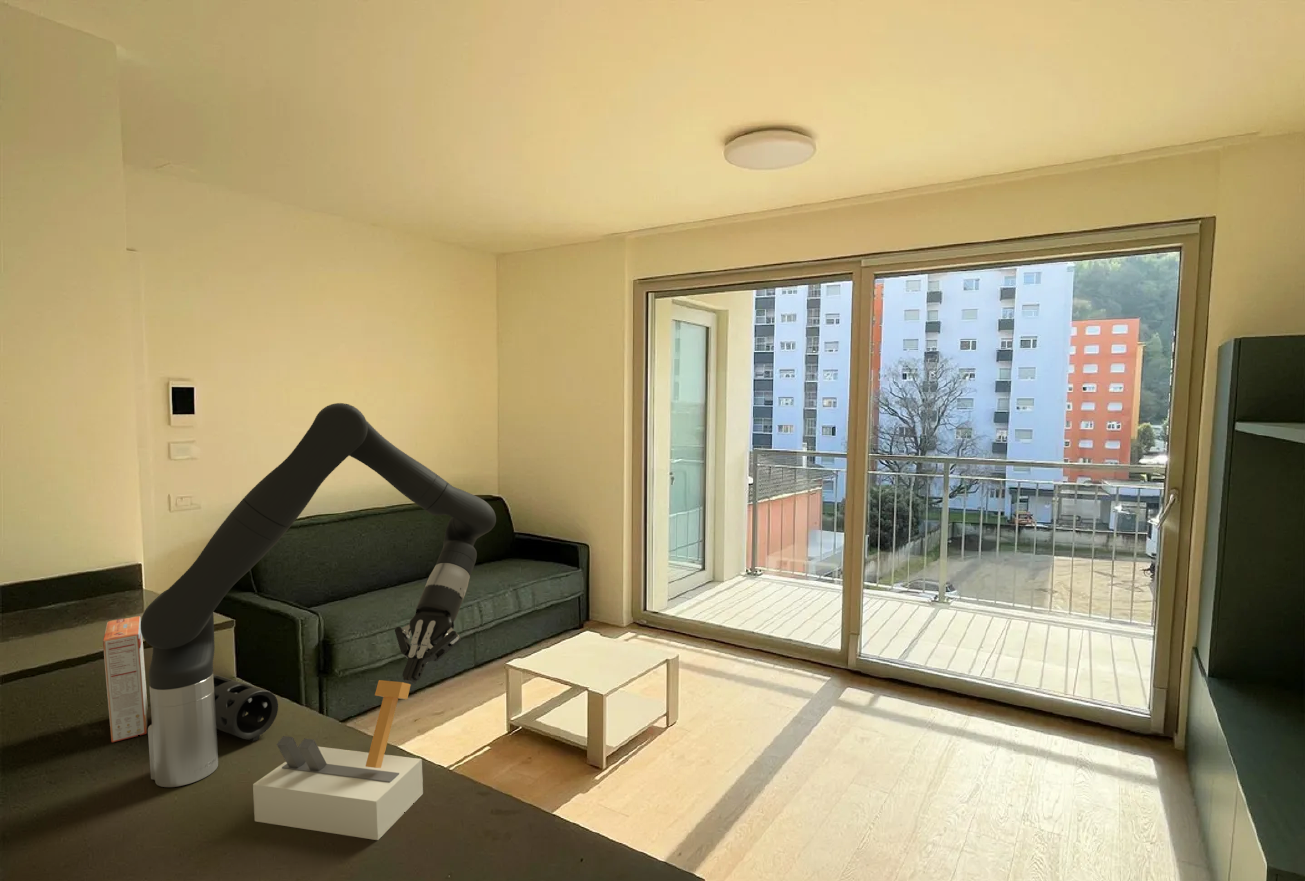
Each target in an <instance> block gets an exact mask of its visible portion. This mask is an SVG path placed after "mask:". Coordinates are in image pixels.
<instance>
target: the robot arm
mask: <svg viewBox="0 0 1305 881" xmlns="http://www.w3.org/2000/svg"><path fill="white" fill-rule="evenodd" d="M348 457H351V458H352V459H355V460H357V461H359V462H361V463H362V464H364V465H366V466H367V467H368V468H370V469H371V470H373V471H374V472H375V473H377V474H378V475H379V476H381V477H382V478H383V479H384V480H385V481H387V483H388V484H390V485H391V486H392V487H393V488H395V489H396V490H397V491H398V492H399V493H401V494H402V495H403V496H404V497H406V498H407V499H408V500H410V501H411V502H413V503H414V504H415V505H417V506H419V508H422V509H423V510H424V511H426V512H427V513H428V514H430V515H432V516H435V517H437V516H449V517H450V519H449V520H448V522H447V525H446V527H445V532H444V539H443V542H442V544H443V545H442V546H443V547H442V549H441V551H440V553H439V556H438V558H437V561H436V564H434V565H435V566H434V568H433V569H432V571H431V573H430V574H429V576H428V579H427V581H426V584H425V586H424V589H423V591H422V593H421V596H420V598H419V600H418V603H417V605H416V611H415V613H414V616H413V617H412V618H410V620H409V623H408V624H407V625H405V626H403V627H401V626H397V627H395V629H394V634H395V637H396V640H397V644H398V646H399V649H400V650H399V651H400V653H401V654H402V655H403V656H404V657H405V658H406V659H407V662H406V664H405V666H404V669H403V672H402V678H403V681H404V683H407V684H411V685H412V684H417V683H418V681H419V680H421V678H422V675H423V672H424V670H425V667H426V665H427V664H428V663H429V662H432V661H433V662H437V661H438V660H439V661H440V659H441V658H442V657H443V656H445V655H446V654H448V652H450V650H452V649H453V648H454V647H455V646H457V645H458V644H459V643H460V642H461V640H462V638H461V636H460V635H459V634H458V632H456V631H455V630H454V628H455V624H454V622H455V621H456V619H457V617H458V614H459V612H460V609H461V606H462V604H463V601H464V598H465V595H467V594H466V593H467V590H468V586H469V583H470V582H469V581H470V578H471V575H472V573H473V570H474V567H475V564H476V561H477V556H478V553H477V549H476V548H475V547H474V545H475V543H476V542H477V539H479V538H480V537H482V536H484V535H485V534H487V533H489V532H491V531H492V529H494V527H495V526H496V524H497V523H496V522H497V516H496V513H495V510H494V509H493V507H492V506H491V505H490V503H488V502H487V501H486V500H484V499H482V498H481V497H479V496H477V495H475V494H473V493H470V492H468V491H466V490H464V489H461V488H457V487H455V486H453V485H452V484H451V483H449V482H448V481H446V480H445V479H444V478H443V477H441V476H440V475H438V474H437V473H436V472H434V471H432V470H431V469H430V468H428V467H427V466H425V465H424V464H423V463H421V462H419V461H418V460H416V459H415V458H413V457H411V456H410V455H408V454H407V453H405V452H404V451H402V450H401V449H399V448H398V447H397V446H396V445H394V444H393V443H392V442H390V441H389V440H387V439H386V438H385V437H384V436H383V435H382V434H380V432H378V431H377V430H376V428H374V427H373V426H372V425H371V424H370V423H369V421H367V419H366V417H365V415H364V414H363V413H362V412H361V411H360V410H359V409H358V408H356V407H355V406H353V405H351V404H349V403H342V402H337V403H332V404H329V405H327V406H325V407H323V408H322V409H321V410H320V411H319V412H318V413H317V414H316V416H315V418H314V419H313V421H312V423H311V425H310V427H309V429H307V431H306V433H305V434H304V435H303V437H302V438H301V439H300V441H299V442H298V443H297V445H296V446H295V448H294V449H293V450H292V452H290V453H289V455H288V456H287V457H286V458H285V460H283V461H282V462H281V463H280V464H278V466H276V467H275V468H274V469H273V470H271V471H270V472H269V473H268V474H267V475H266V476H265V477H263V478H262V480H260V481H259V482H258V483H257V484H256V485H255V486H254V487H253V488H251V490H249V492H247V494H246V495H245V496H244V497H243V498H242V499H241V500H240V501H239V503H238V504H237V505H236V506H235V507H234V509H233V510H232V511H230V513H229V514H228V515H227V517H226V518H225V520H223V522H222V523H221V524H220V526H219V527H218V528H217V529H216V531H215V532H214V533H213V535H212V536H211V538H210V539H209V540H208V542H207V543H206V545H205V546H204V548H203V550H202V551H201V552H200V554H199V555H198V557H197V558H196V560H194V562H193V563H192V564H191V566H190V567H189V568H188V569H187V570H186V571H185V572H184V573H183V574H182V575H180V577H178V579H177V580H176V581H175V582H174V583H173V584H172V585H170V586H169V587H168V588H167V589H165V591H163V592H162V593H160V595H157V597H156V598H155V599H153V601H151V602H150V604H149V605H147V607H146V608H145V610H144V611H143V614H142V616H141V634H142V639H144V641H145V642H146V643H147V644H148V645H149V646H150V647H152V656H151V661H150V662H151V663H150V666H149V669H148V682H149V698H150V699H149V700H150V701H149V702H150V715H151V716H150V717H151V718H150V719H151V724H150V725H149V726H147V736H148V751H149V752H148V754H149V768H150V769H149V770H150V780H154V781H155V782H154V783H155V784H156V785H157V786H158V787H162V788H163V787H164V788H175V787H181V786H185V785H190V784H192V783H195V782H198V781H200V780H202V779H205V778H206V777H208V776H210V775H211V774H212V773H214V772H215V771H216V770H217V769H218V766H219V755H218V735H217V734H218V733H217V732H218V731H217V729H216V713H215V696H214V680H213V674H214V657H215V622H214V620H215V618H214V616H215V615H214V612H215V610H216V608H218V606H219V604H220V603H221V601H223V599H224V597H226V595H227V594H228V593H229V591H230V590H231V589H232V588H233V587H234V586H235V584H237V582H239V580H241V579H242V578H243V577H244V576H245V575H246V574H247V573H248V572H249V571H251V570H252V569H253V568H254V566H255V565H257V563H258V562H260V560H262V559H263V558H264V557H265V556H266V555H267V553H269V551H271V549H272V548H273V547H274V546H275V545H276V544H277V543H278V542H279V541H280V539H281V538H282V537H283V536H284V535H285V534H286V533H287V531H288V530H289V529H290V528H291V527H292V525H293V524H294V523H295V522H296V521H297V519H298V518H299V516H300V515H301V514H302V512H303V511H305V508H306V507H307V505H308V504H309V503H310V501H311V500H312V499H313V497H314V495H315V494H316V492H317V491H318V489H319V488H320V486H321V485H322V484H323V483H324V482H325V480H326V479H327V478H328V477H329V475H331V474H332V473H333V471H335V470H336V468H338V467H339V466H340V465H341V464H342V462H344V461H345V460H346V459H348ZM411 637H412V638H411ZM410 638H411V641H410V640H409V639H410Z"/></svg>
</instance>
